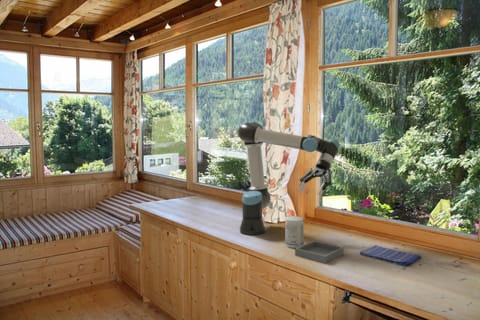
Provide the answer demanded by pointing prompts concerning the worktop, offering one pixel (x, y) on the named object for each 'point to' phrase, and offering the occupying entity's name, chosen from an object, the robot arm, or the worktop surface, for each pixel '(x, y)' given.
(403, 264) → the dish towel
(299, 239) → the supplement tub
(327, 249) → the tray
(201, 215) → the worktop surface
